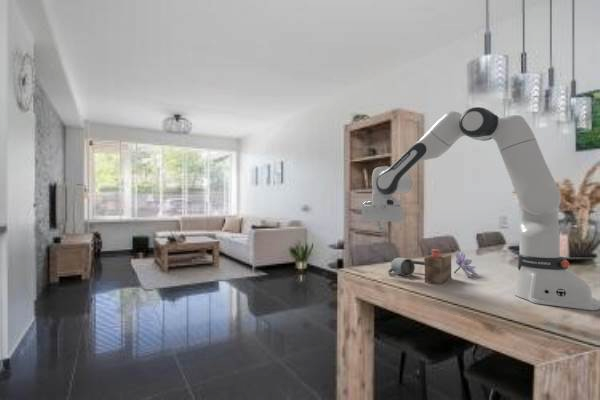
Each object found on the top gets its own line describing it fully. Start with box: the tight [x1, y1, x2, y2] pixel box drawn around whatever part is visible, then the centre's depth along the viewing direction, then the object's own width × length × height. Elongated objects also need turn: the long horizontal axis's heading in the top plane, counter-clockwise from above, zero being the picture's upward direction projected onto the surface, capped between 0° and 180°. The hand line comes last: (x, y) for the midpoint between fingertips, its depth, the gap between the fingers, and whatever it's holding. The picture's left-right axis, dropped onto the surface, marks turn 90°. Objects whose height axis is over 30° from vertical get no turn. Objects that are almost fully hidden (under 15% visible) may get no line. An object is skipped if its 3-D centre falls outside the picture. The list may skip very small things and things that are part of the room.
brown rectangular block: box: [423, 253, 452, 286], centre depth 134 cm, size 6×14×10 cm, turn 138°
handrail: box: [411, 259, 425, 266], centre depth 149 cm, size 19×2×5 cm, turn 48°
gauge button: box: [430, 248, 441, 258], centre depth 132 cm, size 3×3×6 cm
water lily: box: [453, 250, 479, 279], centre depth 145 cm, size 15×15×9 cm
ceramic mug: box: [387, 257, 416, 277], centre depth 145 cm, size 11×8×8 cm
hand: (381, 230), depth 151 cm, fingers closed
